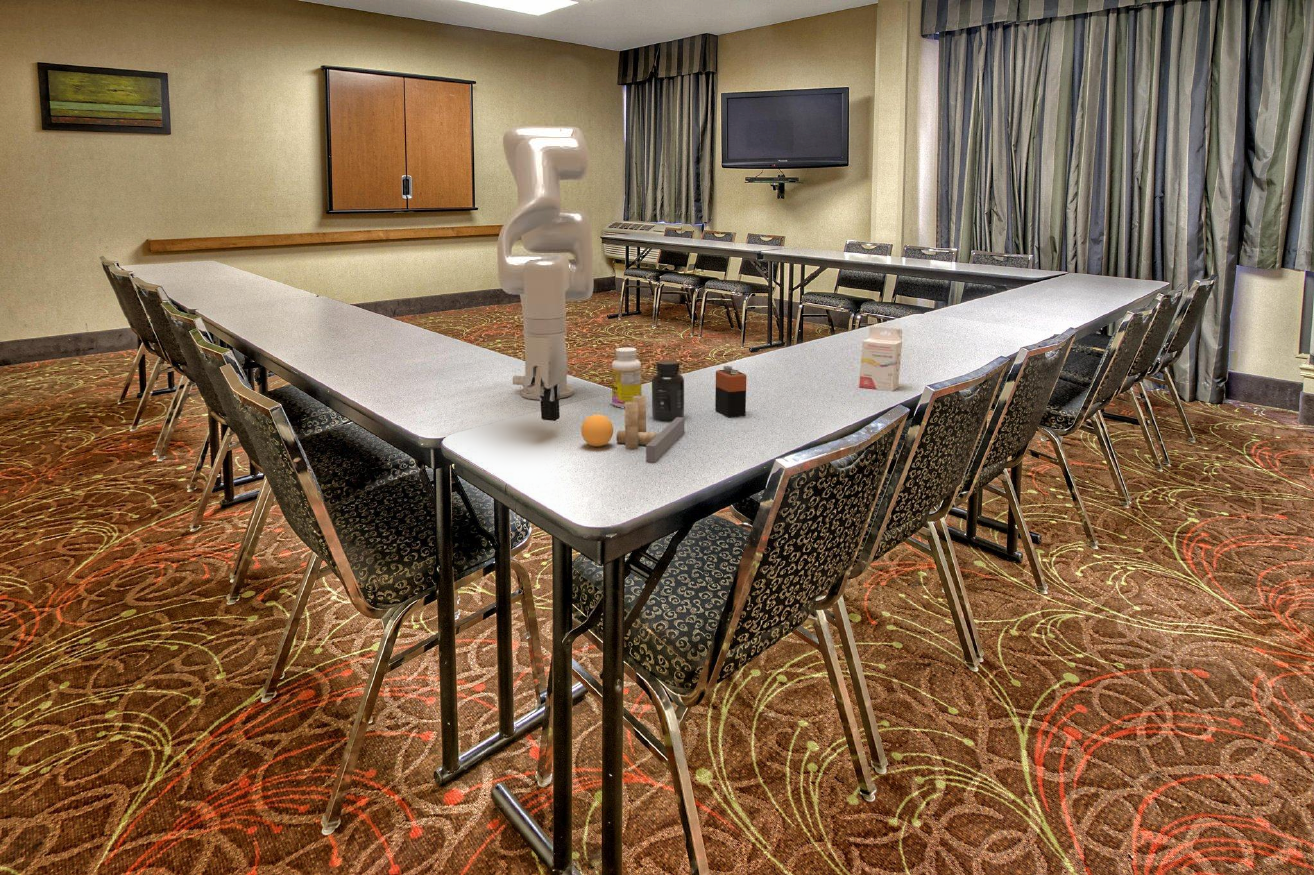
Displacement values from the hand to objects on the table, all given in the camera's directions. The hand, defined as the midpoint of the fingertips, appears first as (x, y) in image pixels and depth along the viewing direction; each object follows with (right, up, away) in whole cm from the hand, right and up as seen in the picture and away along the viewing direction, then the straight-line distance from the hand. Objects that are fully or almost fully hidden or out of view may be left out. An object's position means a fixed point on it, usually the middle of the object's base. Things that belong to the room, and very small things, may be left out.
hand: (550, 419), depth 153 cm
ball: (+10, -2, -7) cm, 12 cm away
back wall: (+23, -5, -6) cm, 24 cm away
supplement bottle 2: (+23, 0, +13) cm, 27 cm away
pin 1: (+16, -5, -7) cm, 18 cm away
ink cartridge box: (+75, +8, +39) cm, 85 cm away
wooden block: (+13, -3, -4) cm, 14 cm away
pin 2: (+18, -4, -2) cm, 18 cm away
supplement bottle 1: (+14, +4, +24) cm, 28 cm away
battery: (+37, +1, +17) cm, 40 cm away
